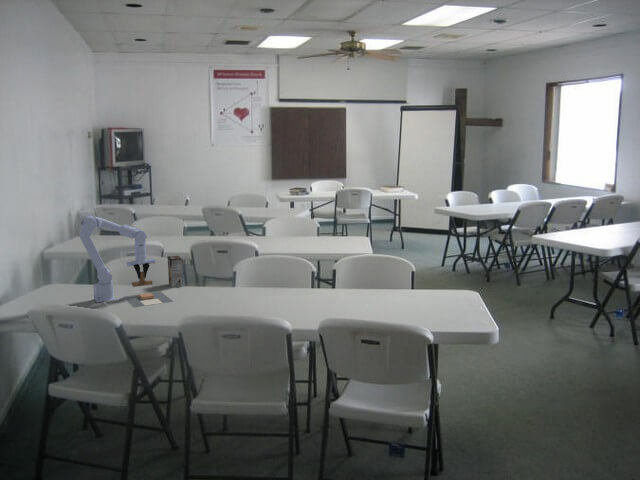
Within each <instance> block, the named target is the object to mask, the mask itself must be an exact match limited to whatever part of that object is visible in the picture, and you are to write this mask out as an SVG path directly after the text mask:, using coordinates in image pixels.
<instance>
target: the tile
mask: <svg viewBox="0 0 640 480" xmlns="http://www.w3.org/2000/svg"><path fill="white" fill-rule="evenodd" d="M151 293H152V292H148V293H147V292H146V293H140V294H138V295H139V298H140V299H142V300H145V299H153V298H154V295H152V294H151Z"/></svg>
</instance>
